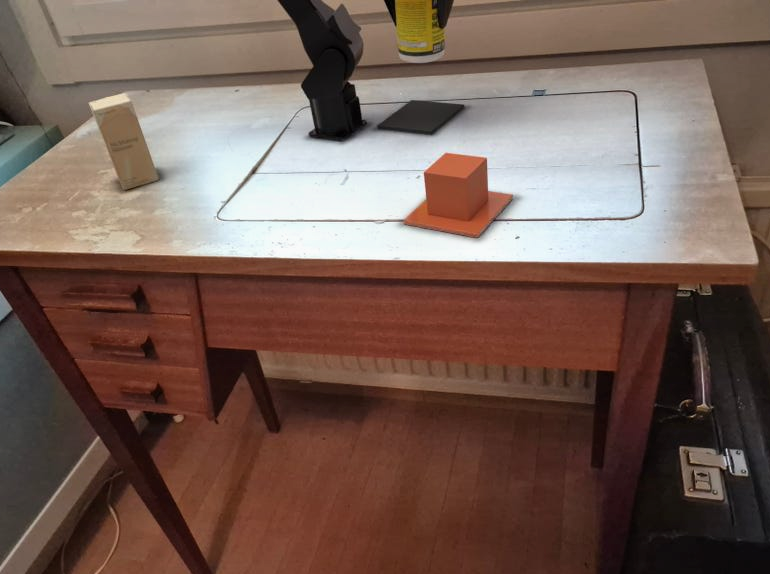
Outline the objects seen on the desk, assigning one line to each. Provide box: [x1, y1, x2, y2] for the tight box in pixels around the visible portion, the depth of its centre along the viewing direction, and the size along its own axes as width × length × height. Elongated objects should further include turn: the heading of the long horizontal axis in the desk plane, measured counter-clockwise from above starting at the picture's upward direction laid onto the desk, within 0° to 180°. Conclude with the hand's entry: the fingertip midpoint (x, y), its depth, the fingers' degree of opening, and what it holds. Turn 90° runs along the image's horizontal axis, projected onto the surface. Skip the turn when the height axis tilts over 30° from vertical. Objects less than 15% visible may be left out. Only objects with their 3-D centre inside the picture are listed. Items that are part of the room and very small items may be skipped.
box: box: [88, 92, 160, 191], centre depth 89 cm, size 5×4×11 cm
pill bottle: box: [395, 0, 446, 64], centre depth 84 cm, size 6×6×11 cm
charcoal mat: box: [376, 99, 466, 136], centre depth 95 cm, size 9×10×1 cm
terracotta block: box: [423, 152, 489, 221], centre depth 71 cm, size 5×5×5 cm
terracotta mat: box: [403, 190, 514, 239], centre depth 73 cm, size 9×9×1 cm
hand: (420, 27), depth 85 cm, fingers closed on pill bottle, 6 cm apart
